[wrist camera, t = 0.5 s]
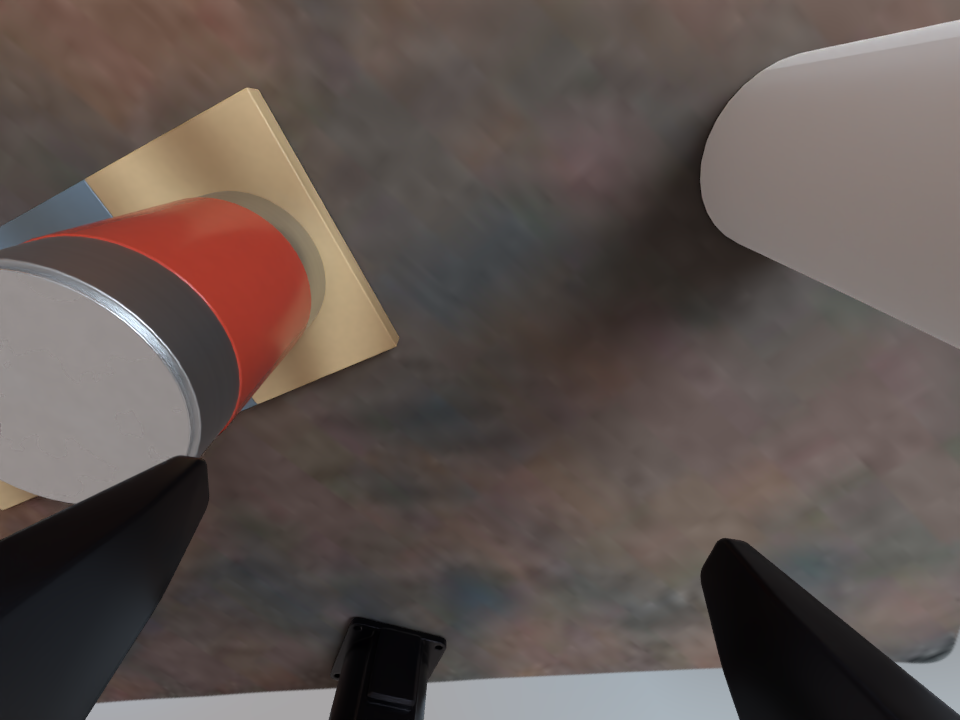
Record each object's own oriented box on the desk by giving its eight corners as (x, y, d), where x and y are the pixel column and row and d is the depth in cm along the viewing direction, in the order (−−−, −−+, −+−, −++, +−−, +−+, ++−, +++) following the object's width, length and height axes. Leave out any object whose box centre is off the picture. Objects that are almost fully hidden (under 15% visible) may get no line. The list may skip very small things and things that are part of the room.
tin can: (309, 363, 22) (184, 539, 12) (159, 314, 20) (-96, 468, 11) (343, 226, 19) (216, 324, 10) (172, 162, 18) (-149, 205, 9)
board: (18, 497, 26) (2, 510, 26) (-174, 331, 22) (-202, 340, 21) (400, 337, 22) (396, 347, 21) (258, 88, 18) (246, 86, 17)
